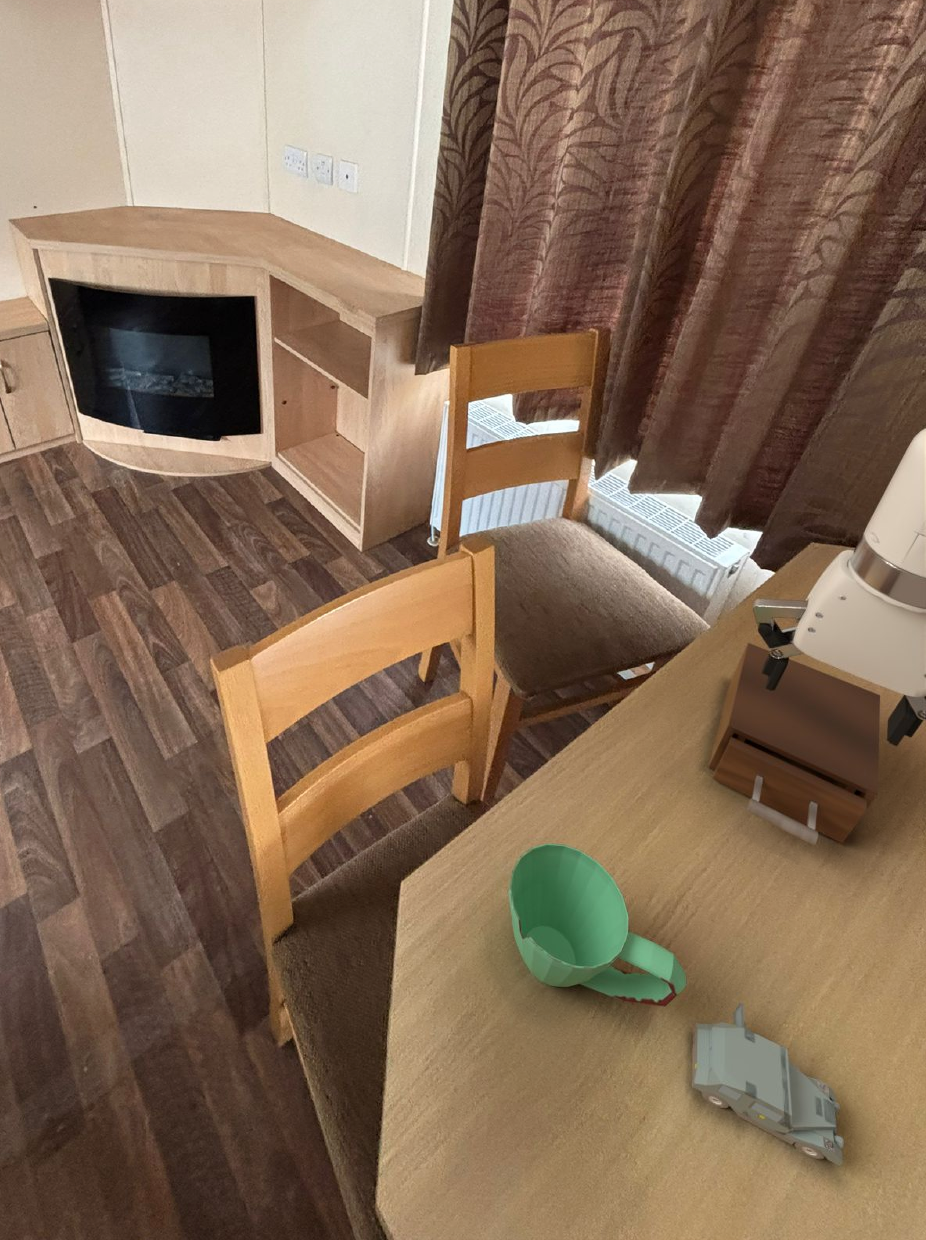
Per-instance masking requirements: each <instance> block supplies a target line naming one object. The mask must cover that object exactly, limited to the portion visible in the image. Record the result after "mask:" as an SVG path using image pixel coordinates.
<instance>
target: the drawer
mask: <svg viewBox="0 0 926 1240" xmlns="http://www.w3.org/2000/svg"><path fill="white" fill-rule="evenodd" d="M712 780H715V781H717V782H718V783H720V784H723V785H724V786H726V787H728V788H731V789H732V790H735V791H737V792H738V793H741V794H743V795H744V796H746V797H749V800H748V802H747V806H746V812H747V813H749V814H751V815H753V816H755V817H757V818H759V819H761V820H763V821H764V822H767V823H769V824H771V825H772V826H774V827H776V828H779V829H780V830H783V831H784V832H787V833H789V834H790V835H792V836H794V837H796V838H798V839H800V840H802V841H804V842H806V843H807V844H810V845H812V846H816V845H817V843H818V839H819V833H820V834H823V835H824V836H827V837H828V838H829V839H830V838H831V839H833V840H835V841H836V842H838V843H840V844H844V842H845V841H846V839H847V838H848V837H849V836H848V835H850V834H851V833H852V831H853V830H854V829H855V827H856V826H857V824H858V823H859V821H860V820H861V819H862V817H863V816H864V815H865V813H866V812H867V810H868V809H867V800H866V799H864V798H862V797H859V796H857V795H855V794H854V793H855V792H856V789H854V788H852V787H850V786H847V785H845V784H843V783H841V782H839V781H837V780H834V779H832V778H830V777H828V776H826V775H824V774H822V773H819V772H817V771H815V770H813V769H811V768H809V767H806V766H804V765H802V764H800V763H798V762H796V761H793V760H791V759H789V758H787V757H785V756H783V755H780V754H778V753H776V752H774V751H772V750H770V749H768V748H765V747H763V746H761V745H759V744H757V743H755V742H752V741H750V740H748V739H746V738H744V737H742V736H739V735H737V734H735V733H734V735H733V737H731V738H730V740H729V742H728V744H727V746H726V748H725V750H724V752H723V755H722V757H721V759H720V761H719V763H718V765H717V767H716V769H715V771H713V776H712ZM866 809H867V810H866ZM865 811H866V812H865ZM864 812H865V813H864ZM862 815H863V816H862ZM860 818H861V819H860ZM859 819H860V820H859ZM857 822H858V823H857ZM855 825H856V826H855ZM854 826H855V827H854ZM852 829H853V830H852ZM850 832H851V833H850ZM847 836H848V837H847Z"/></svg>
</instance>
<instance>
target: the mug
mask: <svg viewBox="0 0 926 1240" xmlns="http://www.w3.org/2000/svg"><path fill="white" fill-rule="evenodd" d="M507 895H508V901H509V908H510V914H511V915H510V917H511V924H512V930H513V937H514V941H515V943H516V946H517V949H518V952H519V953H520V955H521V957H522V960H523V961H524V963H525V965H526V967H527V968H528V970H529V971H530V972H531V974H532V976H534V977H535V979H536V978H537V979H538V981H540V982H541V983H543V984H545V985H547V986H550V987H557V988H558V987H560V988H561V987H562V988H568V987H573V986H576V985H581V986H583V987H586V988H588V989H592V990H594V991H597V992H599V993H602V994H604V995H607V996H609V997H612V998H613V999H617V1000H619V1001H621V1002H627V1003H628V1002H629V1003H634V1004H643V1005H649V1006H658V1007H663V1008H666V1007H667V1005H669V1004H670V1003H671V1002H672V1001H673V1000H674V999H675V998H676V997H677V996H678V995H679V994H681V992H682V991H683V990H684V989H685V988H686V985H687V974H686V972H685V970H684V969H683V967H682V965H681V963H680V962H679V960H678V959H677V957H676V955H674V953H673V952H672V951H670V950H669V949H667V948H665V947H663V946H661V945H659V944H658V943H656V942H655V941H652V940H650V939H648V938H646V937H643V936H641V935H639V934H636V933H635V932H632V931H630V930H629V928H630V914H629V911H628V907H627V905H626V901H625V897H624V894H623V893H622V891H621V889H620V888H619V885H618V884H617V882H616V881H615V880H614V877H613V876H612V875H611V874H610V873H609V872H608V871H607V870H606V869H605V868H604V867H603V865H602V864H601V863H599V862H598V861H597V860H596V859H595V858H593V857H592V856H590V855H588V854H587V853H585V852H584V851H583V850H581V849H578V848H575V847H572V846H569V845H567V844H564V843H549V842H546V843H543V844H540V845H536V846H532V847H531V848H530V849H528V850H527V851H525V852H524V853H523V854H521V855H520V856H519V858H518V860H517V861H516V862H515V865H514V866H513V868H512V870H511V874H510V879H509V886H508V893H507ZM617 959H619V960H621V961H623V962H626V963H627V964H630V965H632V966H634V967H636V968H639V969H640V970H643V971H644V972H647V973H643V972H641V973H640V972H628V971H625V970H622V969H620V968H617V967H614V966H611V965H612V964H614V962H616V961H617Z"/></svg>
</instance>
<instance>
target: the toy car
mask: <svg viewBox="0 0 926 1240" xmlns="http://www.w3.org/2000/svg"><path fill="white" fill-rule="evenodd" d="M744 1015H745V1014H744V1003H743V1002H740V1003H739V1004H738V1006H737V1007H736V1009H735V1010H734V1011H733V1013H732V1024H731V1023H728V1022H724V1021H719V1022H712V1023H699V1022H695V1023H694V1025H693V1026H692V1058H691V1059H692V1060H691V1061H692V1063H691V1087H692V1088H693V1089H696V1090H697V1091H699V1092H701V1096H702V1098H703V1099H704V1100H705V1101H706V1102H708V1103H709V1104H711V1105H713V1106H715V1107H717V1108H720V1109H727V1108H729V1107H730V1108H731V1109H732V1111H733V1112H734V1113H735V1114H736V1115H737V1116H738V1118H741V1119H743V1120H744V1121H747V1122H748V1123H750V1124H752V1125H754V1126H755V1127H757V1128H759V1129H761V1130H763V1131H764V1132H767V1133H768V1134H770V1135H772V1136H774V1137H776V1138H778V1139H780V1140H781V1141H783V1142H785V1143H787V1144H788V1145H791V1146H792V1145H794V1147H795V1149H797V1151H799V1152H801V1153H802V1154H804V1155H805V1156H807V1157H809V1158H812V1159H815V1160H823V1159H827V1161H829V1162H831V1163H833V1164H835V1165H837V1166H841V1165H842V1164H843V1163H844V1160H843V1152H842V1150H843V1148H844V1145H845V1143H844V1137H842V1136H841V1135H838V1134H837V1133H838V1132H837V1120H836V1113H837V1114H840V1110H841V1107H840V1103H839V1102H838V1101H837V1095H836V1093H835V1090H833V1088H832V1087H831V1086H830V1085H829V1084H828V1083H825V1082H824V1081H822V1080H820V1079H817V1078H814V1077H811V1076H807V1075H805V1074H804V1073H803V1072H802V1071H801V1070H800V1069H799V1068H798V1067H797V1066H796V1065H795V1064H794V1063H793V1062H792V1061H791V1060H789V1051H788V1050H789V1049H788V1048H786V1047H784V1046H782V1045H780V1044H778V1043H776V1042H773V1041H772V1040H770V1039H767V1038H766V1037H764V1036H762V1035H760V1034H757V1033H755V1032H754V1031H751V1030H750V1029H748V1028H746V1022H745V1020H744V1019H745V1016H744Z"/></svg>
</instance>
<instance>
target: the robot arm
mask: <svg viewBox="0 0 926 1240" xmlns="http://www.w3.org/2000/svg"><path fill="white" fill-rule="evenodd" d="M893 473H894V474H893V475H892V478H891V480H890V481H889V483H888V485H887V487H886V488H885V491H884V492H883V495H882V497H881V498H880V500H879V503H878V504H877V505H876V508H875V510H874V512H873V514H872V515H871V517H870V519H869V521H868V523H867V525H866V527H865V530H863V533H862V535H861V537H860V539H859V540H858V542H857V545H856V546H855V548H854V550H852V549H846V550H845V549H844V550H843V551H841V552H840V553H839V554H837V555H836V557H835V558H834V559H833V560H832V561H831V562H830V563H829V565H828V566H827V567H826V568H825V569H824V571H823V572H822V574H821V575H820V577H819V578H818V579H817V581H816V582H815V584H814V585H813V587H812V589H811V590H810V592H809V593H808V595H807V597H806V599H804V600H803V599H782V598H781V599H777V598H757V599H755V600H754V604H753V607H752V611H753V615H754V618H755V622H756V624H757V632H758V635H760V637H761V638H762V640H763V641H764V642H765V644H766V645H767V647H768V649H769V651H770V653H769V655H768V657H767V659H766V661H765V663H764V666H763V669H762V673H763V674H765V675H767V676H768V680H767V684H766V689H768V690H770V691H772V690H774V691H775V689H776V687H777V685H778V683H779V681H780V679H781V677H782V675H783V673H784V671H785V669H786V667H787V665H788V661H789V659H790V658H791V657H797V656H801V655H806V656H808V657H810V658H812V659H814V660H816V661H818V662H821V663H824V664H826V665H829V666H831V667H832V668H836V669H838V670H841V671H842V672H845V673H848V674H850V675H852V676H855V677H857V678H859V679H862V680H865V681H867V682H870V683H871V684H875V685H876V686H879V687H882V688H885V689H888V690H889V691H892V692H895V693H898V694H900V695H902V697H901V699H900V700H899V702H898V703H897V705H896V706H895V708H894V709H893V711H892V712H891V713H890V715H889V717H888V719H887V729H886V741H888V743H889V744H890V745H892V746H895V747H898V745H899V744H900V743H901V741H902V740H903V739H904V737H905V736H906V737H908V738H912V737H913V736H914V735H915V733H916V732H917V730H918V729H919V728H920V726H921V725H922V724H923V722H924V721H925V722H926V427H925V428H924V429H922V430H920V431H919V432H918V433H917V434H916V435H915V436H914V437H913V438H912V440H911V441H910V443H909V445H908V447H907V449H906V451H905V453H904V454H903V456H902V458H901V460H900V462H899V463H898V466H897V468H896V469H895V472H893ZM775 618H780V619H796V624H797V625H796V626H792V627H788V628H783V629H781V627H780V626H779V625H778V623H777V622H776V620H775Z"/></svg>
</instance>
